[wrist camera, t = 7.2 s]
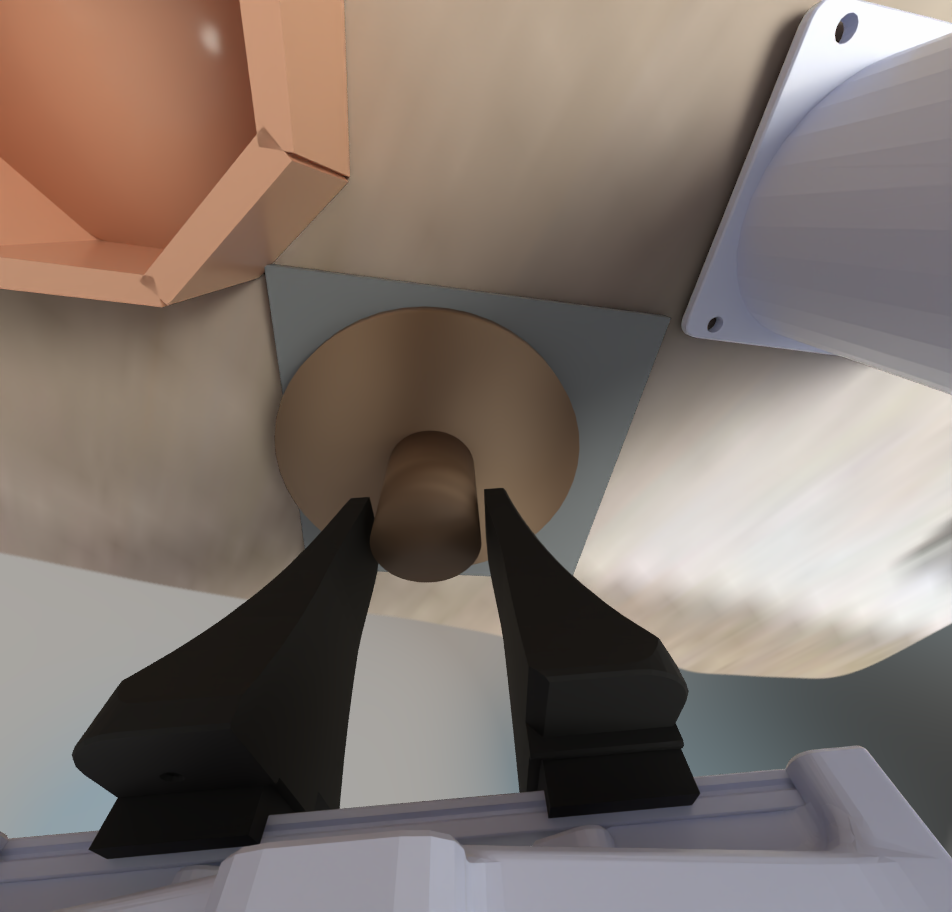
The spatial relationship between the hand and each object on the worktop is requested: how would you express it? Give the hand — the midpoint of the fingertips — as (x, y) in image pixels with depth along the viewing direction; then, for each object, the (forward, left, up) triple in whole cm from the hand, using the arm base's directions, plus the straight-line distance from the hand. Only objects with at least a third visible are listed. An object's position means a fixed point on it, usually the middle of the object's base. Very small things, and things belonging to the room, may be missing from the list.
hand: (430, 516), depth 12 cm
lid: (0, 0, -3) cm, 3 cm away
